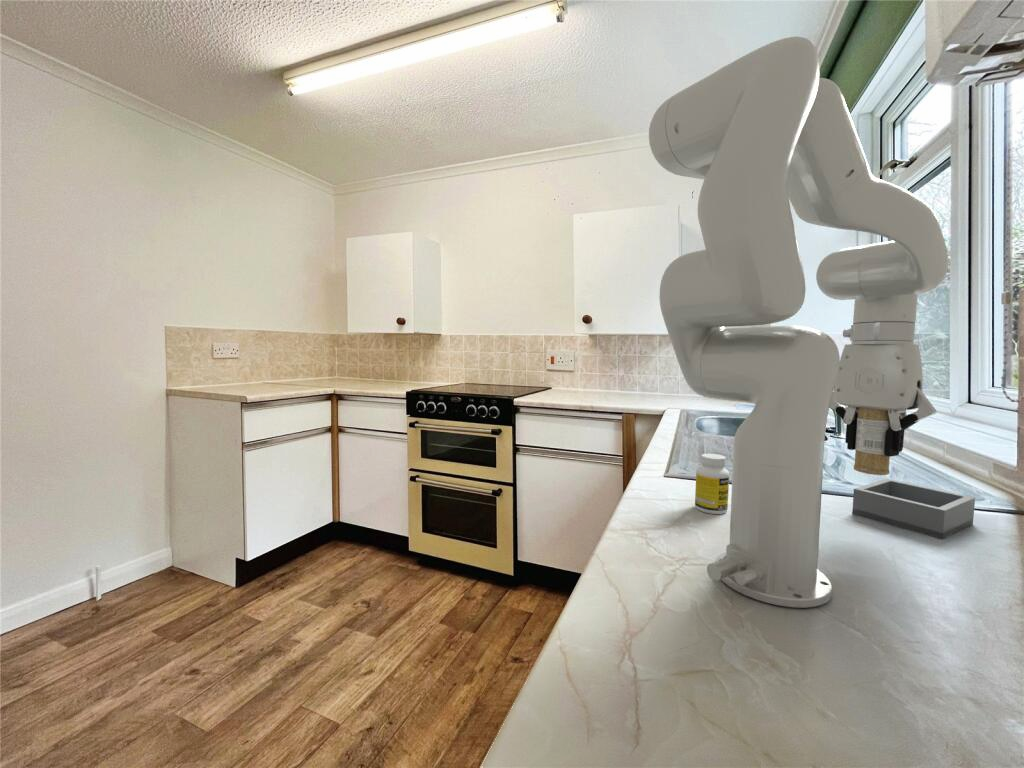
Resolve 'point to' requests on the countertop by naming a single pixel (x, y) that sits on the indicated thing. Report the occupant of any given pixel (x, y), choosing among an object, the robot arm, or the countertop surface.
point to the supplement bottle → (712, 484)
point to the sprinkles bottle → (871, 441)
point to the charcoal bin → (914, 507)
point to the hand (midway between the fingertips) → (872, 451)
